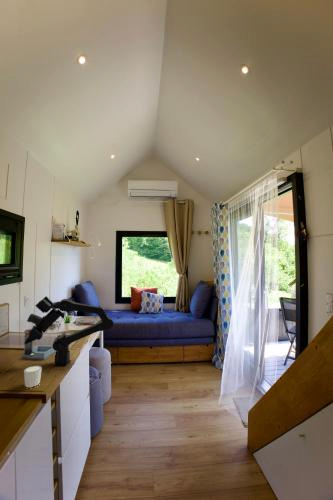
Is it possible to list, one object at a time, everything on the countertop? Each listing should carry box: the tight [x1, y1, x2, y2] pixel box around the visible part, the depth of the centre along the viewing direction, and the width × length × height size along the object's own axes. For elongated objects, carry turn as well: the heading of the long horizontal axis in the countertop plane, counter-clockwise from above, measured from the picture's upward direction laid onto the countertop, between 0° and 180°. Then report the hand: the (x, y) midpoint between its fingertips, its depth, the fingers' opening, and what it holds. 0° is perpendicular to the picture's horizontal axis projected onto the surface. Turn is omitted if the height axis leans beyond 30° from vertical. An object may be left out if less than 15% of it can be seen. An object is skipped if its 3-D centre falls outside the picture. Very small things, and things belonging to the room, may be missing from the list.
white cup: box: [23, 365, 43, 387], centre depth 108 cm, size 7×7×7 cm
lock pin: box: [21, 328, 35, 359], centre depth 126 cm, size 6×6×12 cm
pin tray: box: [24, 345, 56, 361], centre depth 142 cm, size 11×11×4 cm
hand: (25, 342), depth 126 cm, fingers closed on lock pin, 4 cm apart
